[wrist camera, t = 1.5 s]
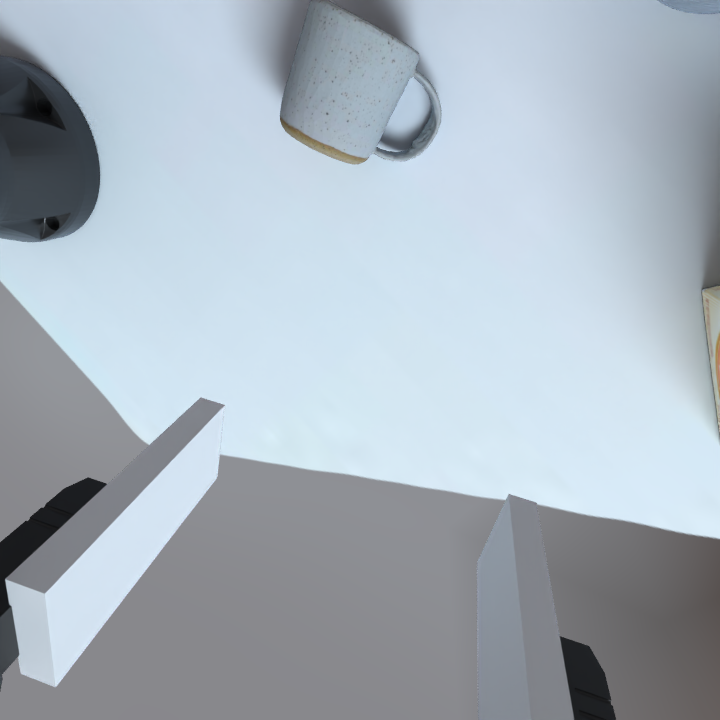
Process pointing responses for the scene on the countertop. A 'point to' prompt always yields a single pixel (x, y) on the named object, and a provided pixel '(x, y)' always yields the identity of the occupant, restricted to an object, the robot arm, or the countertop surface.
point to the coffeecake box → (713, 337)
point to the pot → (694, 6)
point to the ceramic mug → (350, 87)
